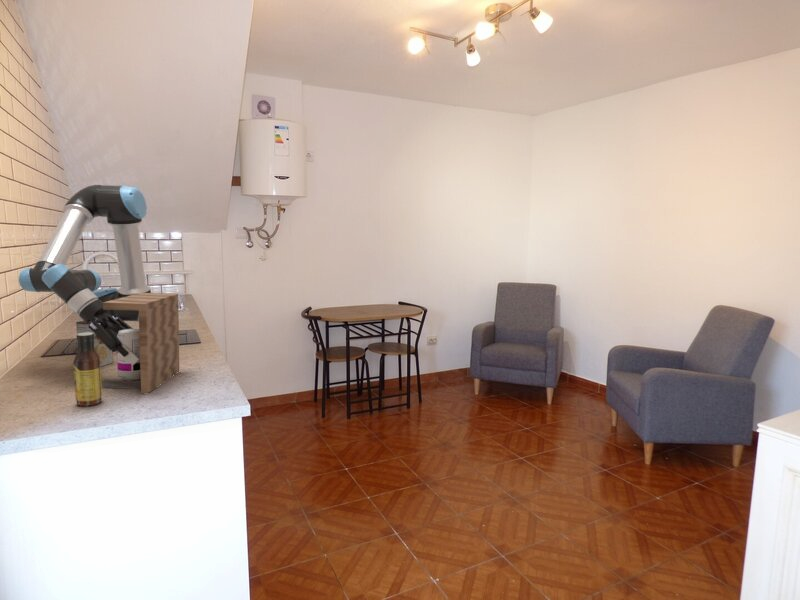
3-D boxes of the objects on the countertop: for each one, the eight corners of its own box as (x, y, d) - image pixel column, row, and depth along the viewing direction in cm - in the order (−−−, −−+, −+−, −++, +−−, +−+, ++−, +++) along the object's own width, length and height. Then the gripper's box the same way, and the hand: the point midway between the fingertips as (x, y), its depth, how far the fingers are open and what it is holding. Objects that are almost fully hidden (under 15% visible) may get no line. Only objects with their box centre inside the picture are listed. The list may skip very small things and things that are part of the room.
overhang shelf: (133, 370, 171) (130, 292, 167) (179, 371, 172) (178, 293, 168) (94, 392, 147) (90, 302, 143) (148, 394, 148) (145, 303, 144)
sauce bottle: (83, 399, 141) (80, 330, 139) (106, 399, 142) (104, 331, 139) (70, 407, 135) (66, 335, 132) (94, 407, 135) (91, 335, 133)
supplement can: (117, 382, 153) (115, 334, 152) (118, 374, 161) (116, 329, 159) (147, 379, 157) (145, 332, 155) (146, 372, 164) (145, 327, 162)
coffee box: (98, 361, 181) (97, 317, 179) (114, 362, 180) (112, 318, 178) (77, 367, 172) (75, 321, 170) (93, 369, 171) (91, 323, 169)
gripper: (98, 309, 166) (149, 358, 169) (59, 320, 145) (117, 375, 148) (114, 294, 166) (165, 343, 169) (77, 303, 145) (135, 358, 148)
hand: (142, 358), depth 158 cm, fingers closed on supplement can, 8 cm apart
